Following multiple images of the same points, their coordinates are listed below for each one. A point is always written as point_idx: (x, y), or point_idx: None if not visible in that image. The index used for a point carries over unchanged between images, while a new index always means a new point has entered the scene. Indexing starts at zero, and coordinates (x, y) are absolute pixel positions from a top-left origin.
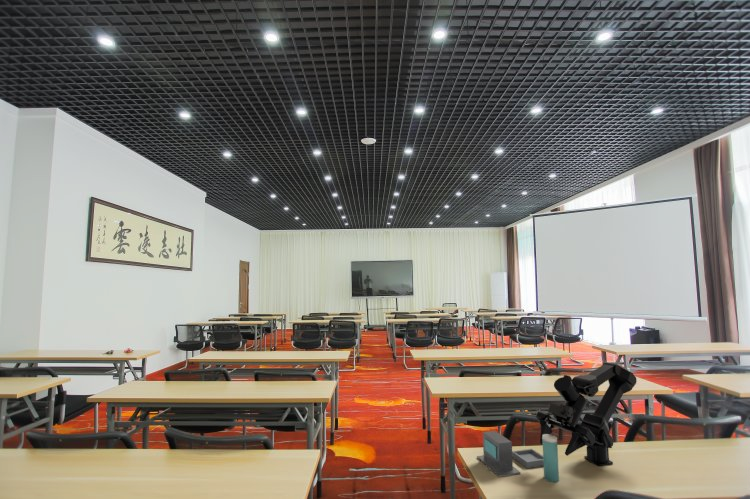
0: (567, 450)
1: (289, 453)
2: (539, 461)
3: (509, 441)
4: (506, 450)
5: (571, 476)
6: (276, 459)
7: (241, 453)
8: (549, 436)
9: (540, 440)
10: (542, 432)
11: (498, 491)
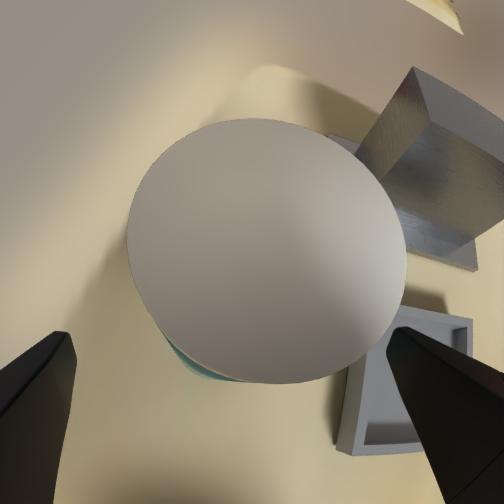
0: (30, 348)
1: (452, 21)
2: (359, 390)
3: (437, 118)
4: (399, 123)
5: (184, 469)
6: (436, 8)
7: (446, 7)
8: (290, 235)
9: (418, 333)
10: (489, 378)
11: (250, 81)
